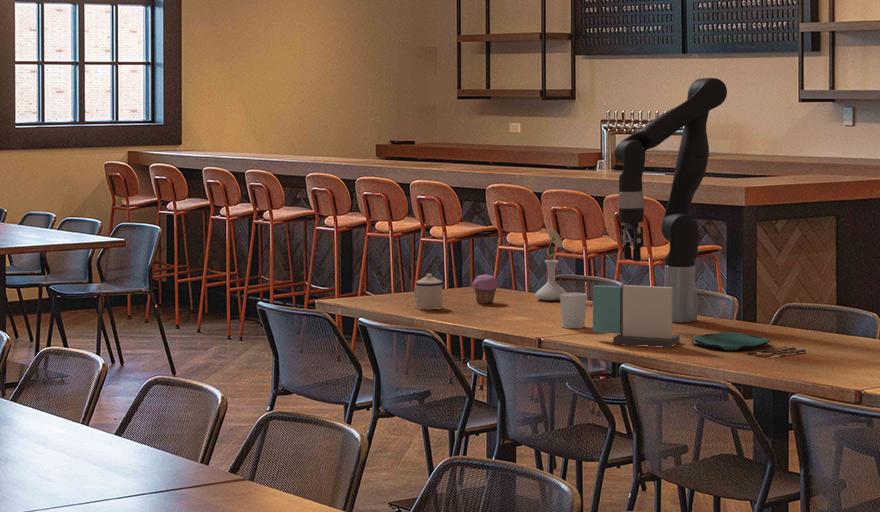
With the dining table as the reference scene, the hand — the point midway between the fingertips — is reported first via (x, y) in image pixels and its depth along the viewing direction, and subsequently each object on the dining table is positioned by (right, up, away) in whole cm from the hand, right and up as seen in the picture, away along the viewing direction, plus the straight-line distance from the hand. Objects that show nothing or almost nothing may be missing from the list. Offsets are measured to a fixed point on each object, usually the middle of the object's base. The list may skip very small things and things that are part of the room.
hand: (632, 260), depth 376 cm
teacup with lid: (-63, -16, +42) cm, 77 cm away
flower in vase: (-19, -14, +58) cm, 63 cm away
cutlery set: (+24, -24, -38) cm, 52 cm away
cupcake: (-42, -15, +52) cm, 69 cm away
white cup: (-18, -20, 0) cm, 27 cm away
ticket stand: (-1, -23, -30) cm, 38 cm away
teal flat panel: (-11, -20, -25) cm, 34 cm away
